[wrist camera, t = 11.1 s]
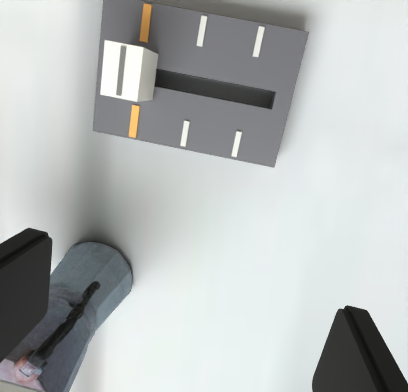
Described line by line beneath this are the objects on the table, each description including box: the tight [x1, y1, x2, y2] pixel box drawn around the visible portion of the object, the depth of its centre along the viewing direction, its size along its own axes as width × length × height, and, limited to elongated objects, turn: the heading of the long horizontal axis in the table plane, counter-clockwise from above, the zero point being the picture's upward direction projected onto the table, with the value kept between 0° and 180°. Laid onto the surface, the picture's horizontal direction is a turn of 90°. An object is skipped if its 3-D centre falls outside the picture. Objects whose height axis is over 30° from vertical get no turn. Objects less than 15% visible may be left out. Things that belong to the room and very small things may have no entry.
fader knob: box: [100, 40, 158, 102], centre depth 29 cm, size 4×3×7 cm
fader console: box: [93, 0, 309, 167], centre depth 32 cm, size 12×18×3 cm, turn 80°
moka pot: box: [0, 242, 132, 392], centre depth 31 cm, size 10×15×20 cm, turn 142°
